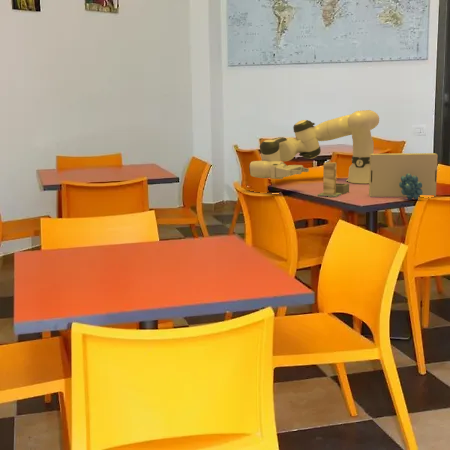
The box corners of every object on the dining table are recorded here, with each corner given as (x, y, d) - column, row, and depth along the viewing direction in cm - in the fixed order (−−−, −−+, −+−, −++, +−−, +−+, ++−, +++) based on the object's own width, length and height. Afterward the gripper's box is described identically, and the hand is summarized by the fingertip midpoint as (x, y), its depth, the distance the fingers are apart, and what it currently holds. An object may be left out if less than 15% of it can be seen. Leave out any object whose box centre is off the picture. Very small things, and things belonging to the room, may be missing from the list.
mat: (324, 193, 332) (324, 192, 332) (341, 194, 328) (341, 193, 328) (317, 196, 324) (317, 194, 324) (335, 197, 320) (335, 195, 320)
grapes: (394, 199, 311) (395, 173, 308) (401, 197, 316) (402, 172, 313) (417, 201, 303) (418, 175, 301) (424, 200, 308) (425, 173, 305)
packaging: (433, 194, 322) (435, 153, 318) (435, 196, 316) (437, 154, 312) (368, 195, 325) (369, 153, 321) (370, 197, 319) (371, 154, 315)
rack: (330, 190, 341) (331, 182, 340) (349, 191, 336) (349, 183, 336) (325, 193, 334) (325, 185, 333) (343, 194, 329) (343, 186, 328)
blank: (326, 192, 329) (326, 162, 326) (335, 193, 326) (336, 162, 324) (323, 194, 325) (323, 163, 323) (333, 194, 323) (333, 163, 320)
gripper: (287, 174, 346) (312, 175, 340) (270, 178, 329) (296, 180, 322) (287, 161, 345) (312, 162, 338) (270, 165, 327) (296, 166, 321)
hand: (304, 171), depth 330 cm, fingers open, 8 cm apart
